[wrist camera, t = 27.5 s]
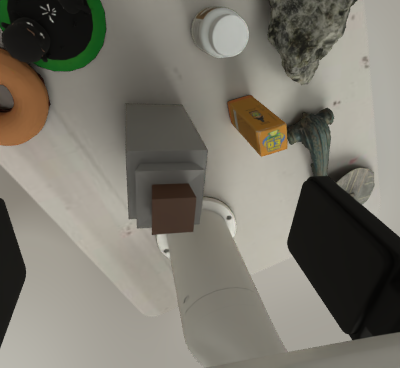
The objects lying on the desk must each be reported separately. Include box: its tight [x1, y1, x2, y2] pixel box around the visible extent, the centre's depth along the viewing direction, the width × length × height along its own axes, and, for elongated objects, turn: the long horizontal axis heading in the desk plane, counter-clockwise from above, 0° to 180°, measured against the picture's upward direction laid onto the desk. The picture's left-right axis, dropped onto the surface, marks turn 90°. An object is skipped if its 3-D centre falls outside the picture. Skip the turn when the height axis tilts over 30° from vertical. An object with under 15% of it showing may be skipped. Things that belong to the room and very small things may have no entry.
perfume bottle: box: [126, 104, 208, 235], centre depth 30 cm, size 7×7×18 cm
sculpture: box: [336, 168, 374, 205], centre depth 49 cm, size 12×9×8 cm
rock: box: [267, 0, 357, 85], centre depth 31 cm, size 12×8×10 cm
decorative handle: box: [287, 108, 334, 176], centre depth 42 cm, size 15×7×5 cm, turn 27°
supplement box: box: [227, 95, 287, 157], centre depth 34 cm, size 3×4×10 cm
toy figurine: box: [0, 0, 106, 71], centre depth 27 cm, size 10×10×6 cm
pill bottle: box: [191, 7, 249, 58], centre depth 30 cm, size 4×4×8 cm
